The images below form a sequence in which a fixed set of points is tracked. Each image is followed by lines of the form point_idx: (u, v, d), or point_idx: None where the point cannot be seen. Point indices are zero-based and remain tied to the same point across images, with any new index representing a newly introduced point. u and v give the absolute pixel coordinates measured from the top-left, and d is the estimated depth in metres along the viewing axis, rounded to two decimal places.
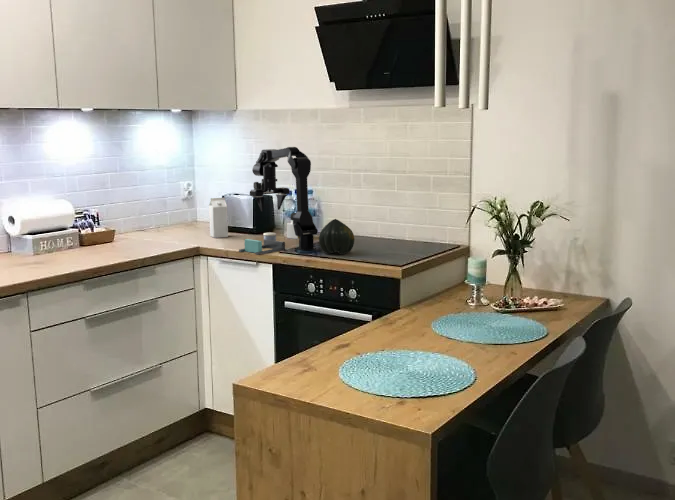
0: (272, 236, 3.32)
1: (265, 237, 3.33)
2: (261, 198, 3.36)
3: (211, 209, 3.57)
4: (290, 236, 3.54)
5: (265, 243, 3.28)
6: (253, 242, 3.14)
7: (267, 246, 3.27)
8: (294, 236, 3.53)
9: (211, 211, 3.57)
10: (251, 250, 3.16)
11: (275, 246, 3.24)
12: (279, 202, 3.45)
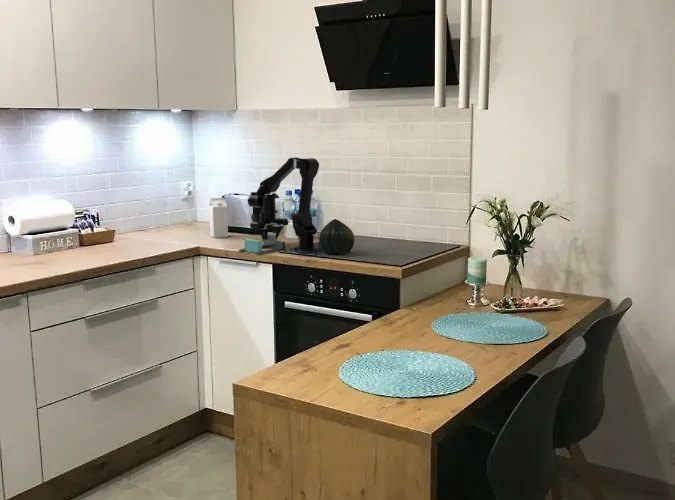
0: (272, 236, 3.32)
1: None
2: (265, 230, 3.29)
3: (211, 209, 3.57)
4: (290, 236, 3.54)
5: (265, 243, 3.28)
6: (253, 242, 3.14)
7: (267, 246, 3.27)
8: (294, 236, 3.53)
9: (211, 211, 3.57)
10: (251, 250, 3.16)
11: (275, 246, 3.24)
12: None
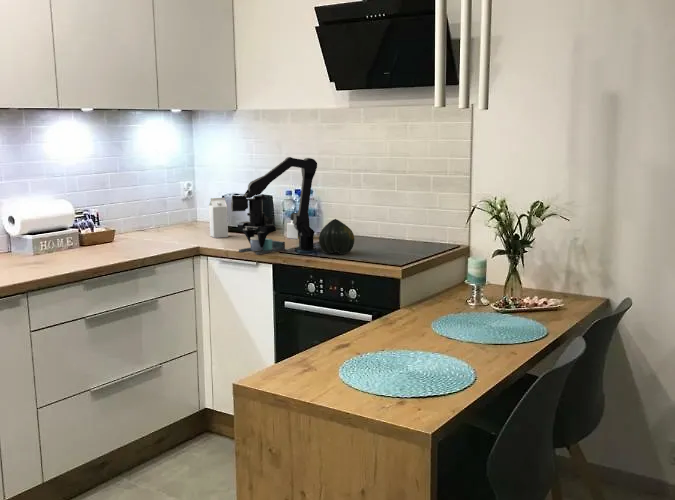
0: (251, 240, 3.16)
1: None
2: (244, 232, 3.18)
3: (211, 209, 3.57)
4: (290, 236, 3.54)
5: None
6: None
7: None
8: (294, 236, 3.53)
9: (211, 211, 3.57)
10: None
11: (275, 246, 3.24)
12: None
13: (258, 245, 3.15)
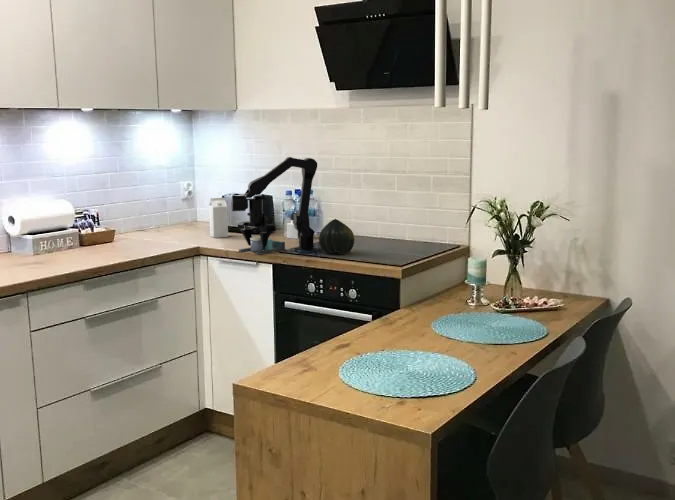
0: (251, 240, 3.16)
1: None
2: (241, 231, 3.19)
3: (211, 209, 3.57)
4: (290, 236, 3.54)
5: None
6: None
7: None
8: (294, 236, 3.53)
9: (211, 211, 3.57)
10: None
11: (275, 246, 3.24)
12: None
13: (258, 246, 3.15)
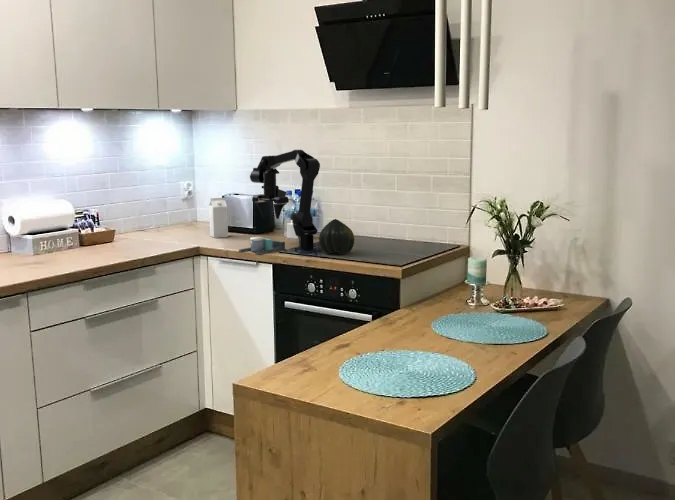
0: (251, 240, 3.16)
1: None
2: (256, 203, 3.37)
3: (211, 209, 3.57)
4: (290, 236, 3.54)
5: None
6: (264, 240, 3.19)
7: None
8: (294, 236, 3.53)
9: (211, 211, 3.57)
10: None
11: (275, 246, 3.24)
12: None
13: (258, 246, 3.15)
